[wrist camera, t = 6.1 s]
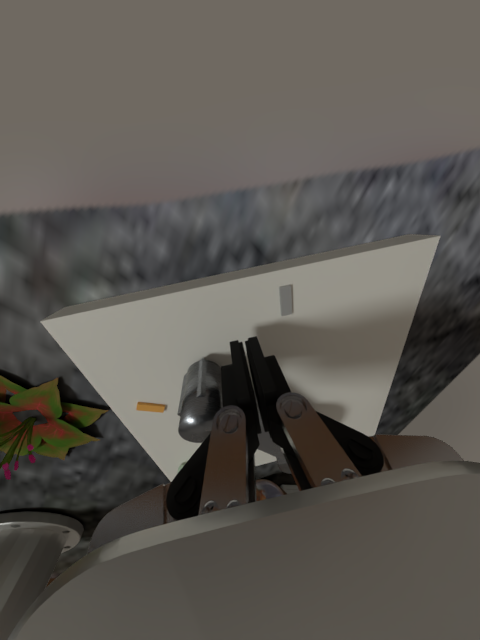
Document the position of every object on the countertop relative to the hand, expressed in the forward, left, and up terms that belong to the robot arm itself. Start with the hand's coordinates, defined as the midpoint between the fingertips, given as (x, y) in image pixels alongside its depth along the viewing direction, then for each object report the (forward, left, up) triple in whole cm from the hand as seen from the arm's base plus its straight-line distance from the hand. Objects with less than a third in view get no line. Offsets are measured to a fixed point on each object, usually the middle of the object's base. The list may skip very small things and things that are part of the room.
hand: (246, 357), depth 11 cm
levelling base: (+1, -7, -4) cm, 8 cm away
